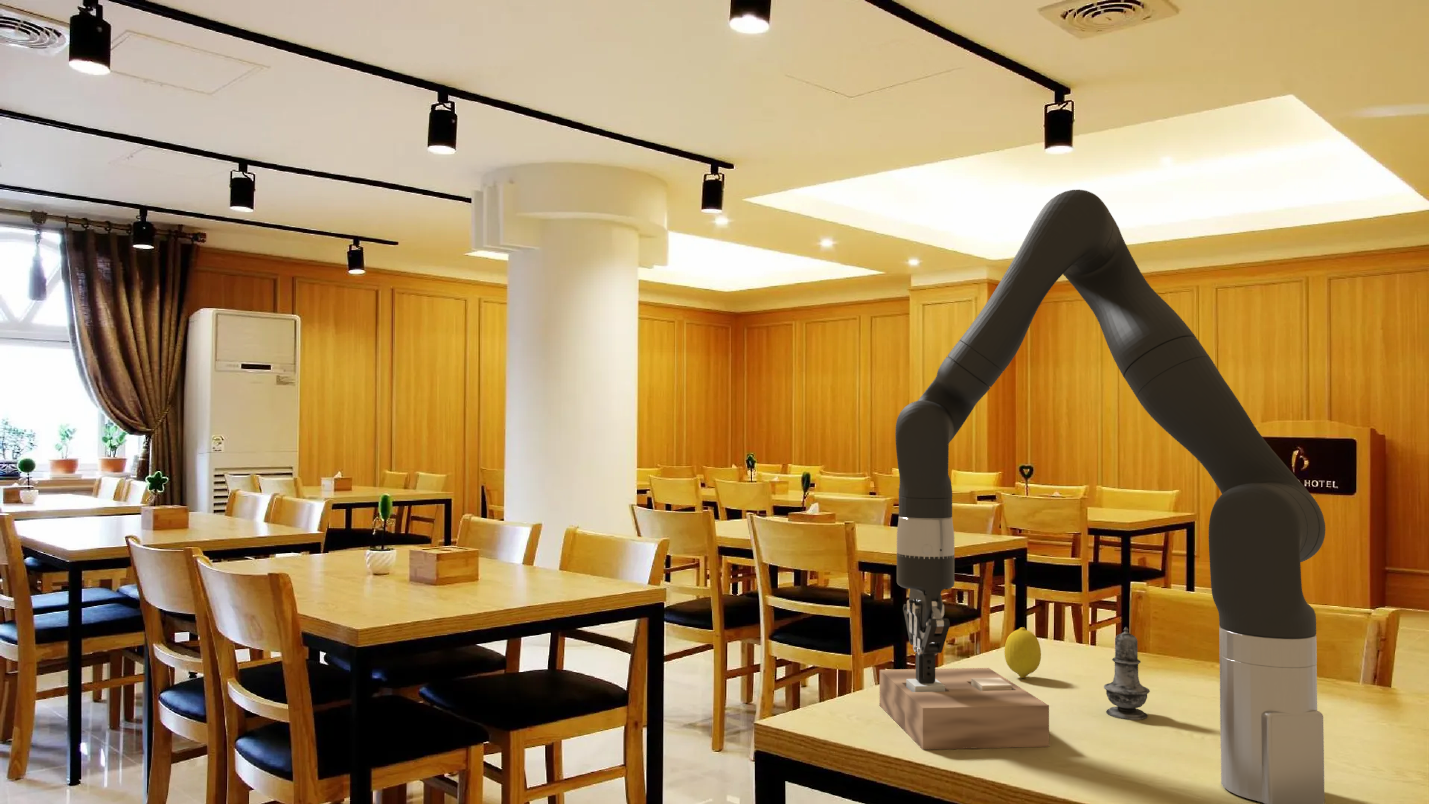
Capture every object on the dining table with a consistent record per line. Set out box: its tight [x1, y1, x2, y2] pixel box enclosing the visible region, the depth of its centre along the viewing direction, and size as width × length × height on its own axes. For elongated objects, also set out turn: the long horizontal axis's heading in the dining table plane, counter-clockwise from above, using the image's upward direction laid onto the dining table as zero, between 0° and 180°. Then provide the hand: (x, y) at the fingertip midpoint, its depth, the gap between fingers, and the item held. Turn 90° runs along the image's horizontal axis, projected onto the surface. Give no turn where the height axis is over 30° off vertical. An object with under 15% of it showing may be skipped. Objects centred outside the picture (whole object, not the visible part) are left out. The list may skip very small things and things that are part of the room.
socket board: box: [879, 667, 1050, 750], centre depth 132 cm, size 20×16×5 cm
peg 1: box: [906, 679, 945, 692], centre depth 131 cm, size 4×4×5 cm
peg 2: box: [971, 678, 1012, 691], centre depth 132 cm, size 4×4×5 cm
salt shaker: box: [1103, 626, 1151, 721], centre depth 137 cm, size 6×6×12 cm
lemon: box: [1003, 626, 1042, 679], centre depth 157 cm, size 6×6×8 cm
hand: (925, 682), depth 131 cm, fingers closed
